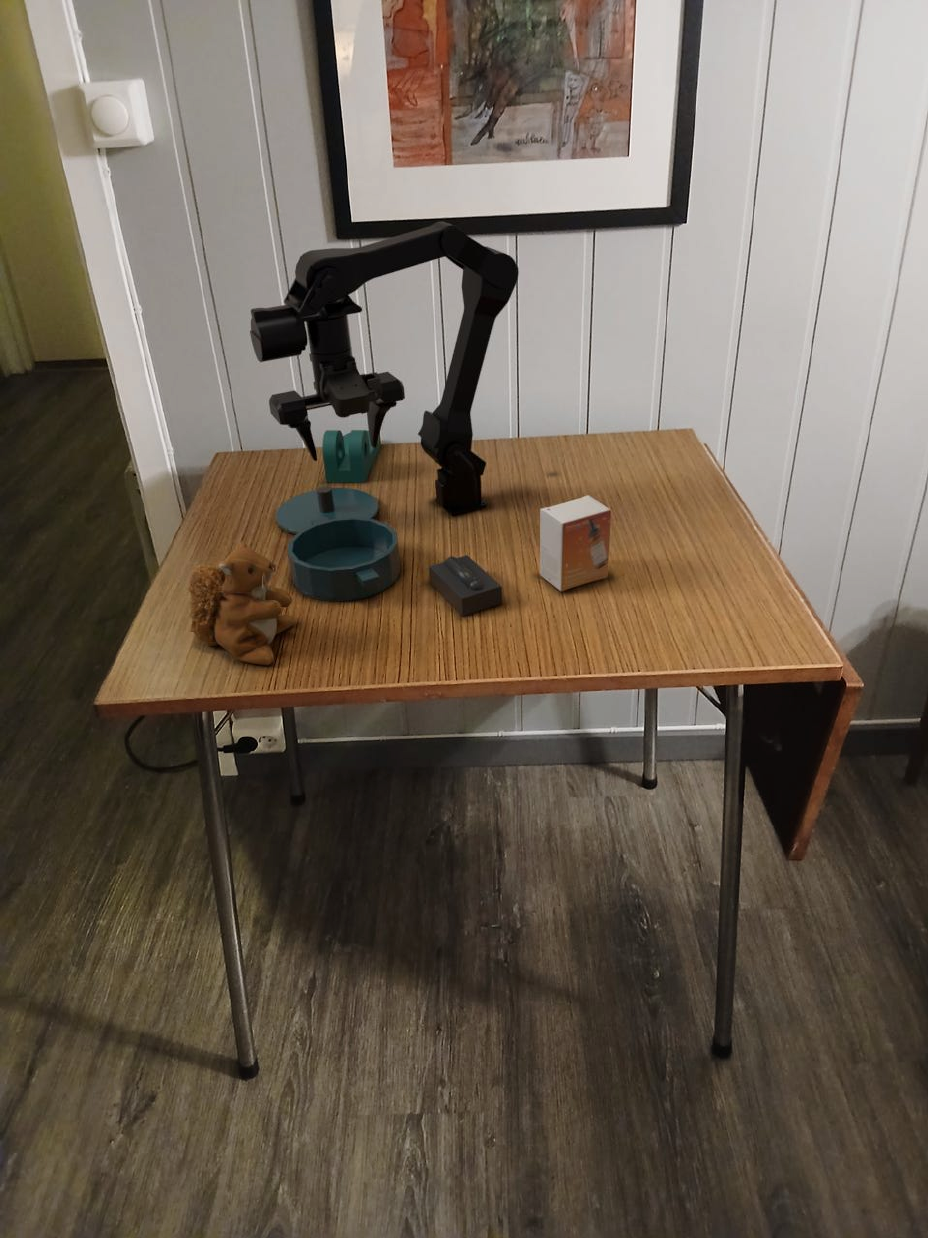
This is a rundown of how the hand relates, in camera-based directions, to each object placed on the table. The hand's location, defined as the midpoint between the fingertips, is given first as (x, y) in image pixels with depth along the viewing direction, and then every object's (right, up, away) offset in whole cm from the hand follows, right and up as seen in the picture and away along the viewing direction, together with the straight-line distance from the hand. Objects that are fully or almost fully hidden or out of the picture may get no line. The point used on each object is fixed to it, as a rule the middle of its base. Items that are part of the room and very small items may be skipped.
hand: (344, 453), depth 138 cm
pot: (+1, -18, -4) cm, 18 cm away
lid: (-4, -7, +12) cm, 14 cm away
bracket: (-2, +4, +30) cm, 30 cm away
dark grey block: (+18, -21, -10) cm, 29 cm away
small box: (+33, -19, -8) cm, 39 cm away
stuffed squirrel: (-11, -27, -17) cm, 34 cm away
